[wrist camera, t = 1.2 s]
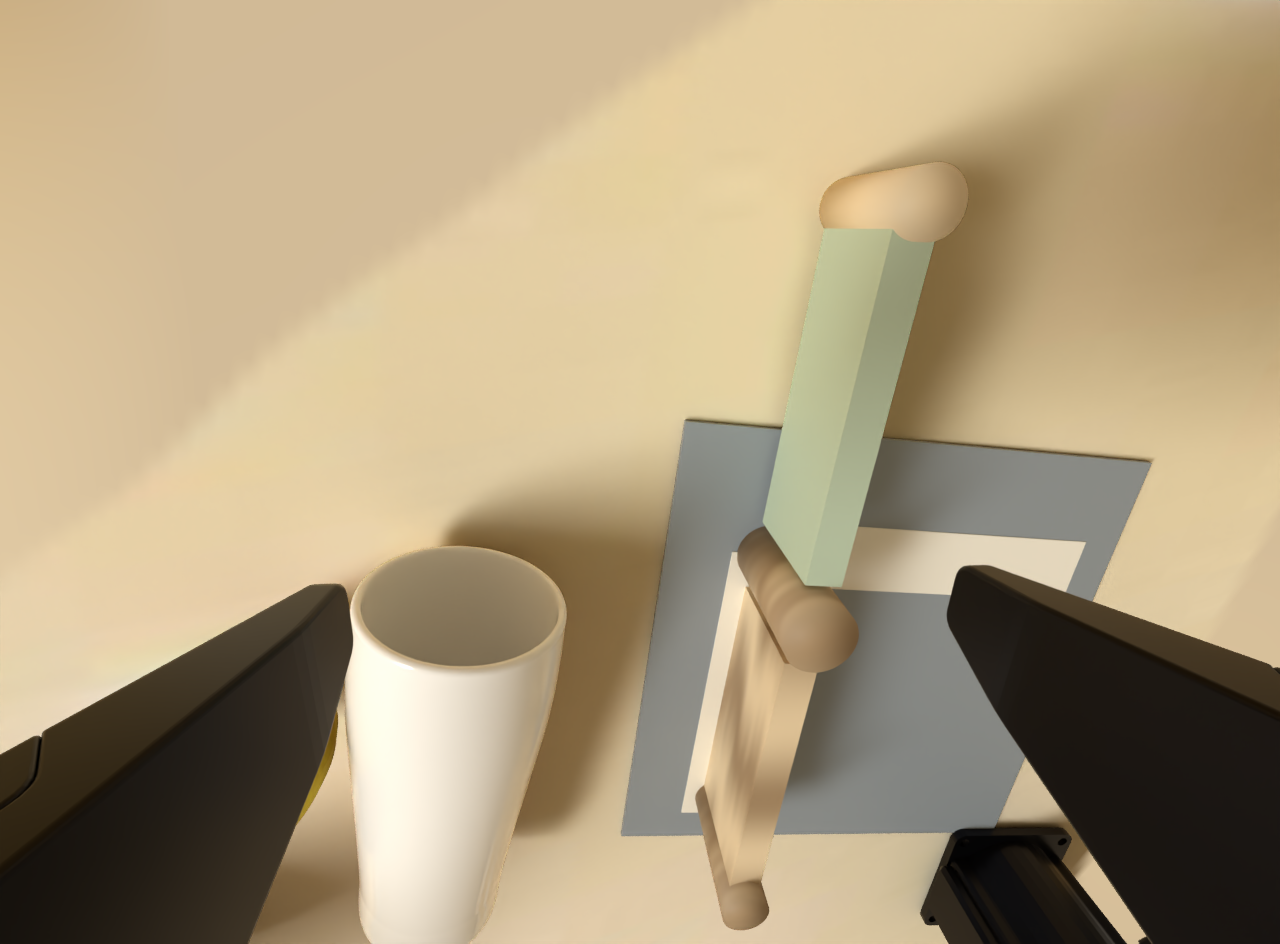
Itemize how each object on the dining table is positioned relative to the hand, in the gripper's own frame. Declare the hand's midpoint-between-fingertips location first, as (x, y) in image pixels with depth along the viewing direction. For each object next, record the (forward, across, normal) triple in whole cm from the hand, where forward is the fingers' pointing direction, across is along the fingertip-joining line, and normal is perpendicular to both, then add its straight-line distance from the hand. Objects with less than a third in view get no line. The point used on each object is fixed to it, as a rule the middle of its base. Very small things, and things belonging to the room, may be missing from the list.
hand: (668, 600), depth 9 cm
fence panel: (+13, -7, -1) cm, 15 cm away
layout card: (+13, -12, +12) cm, 21 cm away
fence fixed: (+13, -6, +13) cm, 19 cm away
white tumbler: (+11, +7, +21) cm, 25 cm away
